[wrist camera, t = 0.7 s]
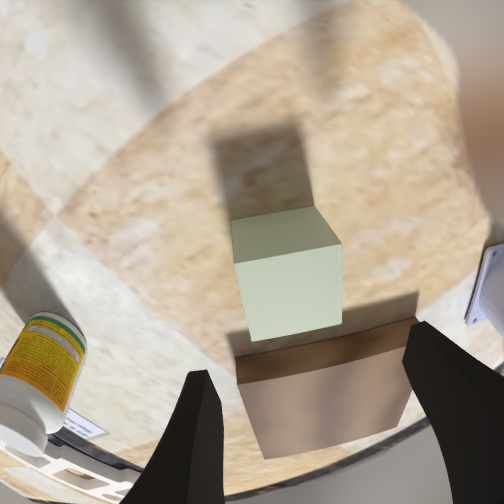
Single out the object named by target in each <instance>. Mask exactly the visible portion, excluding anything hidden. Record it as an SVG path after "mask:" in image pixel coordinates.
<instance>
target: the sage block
mask: <svg viewBox="0 0 504 504" xmlns="http://www.w3.org/2000/svg"><path fill="white" fill-rule="evenodd" d="M231 228H232V244H233V260H234V267H235V272H236V276H237V280H238V285H239V289H240V293H241V298H242V302H243V306H244V311H245V315H246V319H247V324H248V328H249V332H250V336H251V341H252V342H253V341H259V340H265V339H270V338H276V337H281V336H286V335H291V334H296V333H301V332H306V331H311V330H316V329H320V328H325V327H329V326H334V325H338V324H342V243H341V241H340V240H339V239H338V237H337V236H336V234H335V233H334V232H333V230H332V229H331V228H330V226H329V225H328V223H327V222H326V221H325V219H324V218H323V217H322V215H321V214H320V212H319V211H318V210H317V208H316V207H315V206H310V207H304V208H298V209H292V210H287V211H281V212H275V213H269V214H264V215H258V216H253V217H247V218H242V219H236V220H231Z"/></svg>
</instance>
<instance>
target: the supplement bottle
mask: <svg viewBox="0 0 504 504" xmlns="http://www.w3.org/2000/svg"><path fill="white" fill-rule="evenodd" d="M87 351H88V350H87V344H86V342H85V339H84V338H83V336H82V335H81V333H80V332H79V331H78V329H77V328H76V327H75V326H74V325H73V324H72V323H71V322H69V321H68V320H67V319H65V318H63V317H61V316H59V315H56V314H53V313H49V312H41V313H37V314H35V315H33V316H32V317H31V318H30V319H29V321H28V322H27V323H26V325H25V327H24V328H23V330H22V332H21V333H20V335H19V337H18V338H17V340H16V342H15V343H14V345H13V347H12V348H11V350H10V352H9V354H8V355H7V357H6V359H5V361H4V363H3V364H2V366H1V368H0V439H1V440H2V441H3V442H5V443H6V444H8V445H9V446H11V447H13V448H14V449H16V450H18V451H20V452H22V453H25V454H27V455H31V456H34V457H41V456H43V454H44V451H45V447H46V445H47V442H48V440H47V434H51V433H55V432H57V431H59V430H60V429H61V427H62V426H63V424H64V421H65V418H66V415H67V411H68V408H69V405H70V402H71V399H72V396H73V393H74V390H75V387H76V384H77V381H78V379H79V376H80V374H81V371H82V368H83V366H84V363H85V360H86V357H87Z"/></svg>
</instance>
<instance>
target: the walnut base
mask: <svg viewBox="0 0 504 504" xmlns="http://www.w3.org/2000/svg"><path fill="white" fill-rule="evenodd" d="M416 323H419V321H418V319H417V318H416V317H412V318H409V319H406V320H402V321H399V322H395V323H392V324H388V325H385V326H381V327H377V328H374V329H370V330H366V331H362V332H358V333H354V334H350V335H346V336H342V337H338V338H334V339H329V340H325V341H321V342H316V343H311V344H307V345H302V346H297V347H292V348H287V349H282V350H276V351H271V352H265V353H260V354H254V355H248V356H242V357H235V360H236V375H237V386H238V389H239V391H240V394H241V397H242V400H243V403H244V406H245V408H246V411H247V414H248V417H249V419H250V422H251V425H252V428H253V430H254V433H255V436H256V438H257V441H258V444H259V446H260V449H261V452H262V454H263V457H264V459H271V458H278V457H284V456H289V455H295V454H300V453H305V452H310V451H314V450H319V449H323V448H327V447H331V446H335V445H339V444H343V443H347V442H351V441H354V440H358V439H361V438H364V437H368V436H371V435H374V434H377V433H380V432H383V431H386V430H389V429H392V428H395V427H397V425H398V423H399V420H400V418H401V416H402V414H403V411H404V409H405V406H406V404H407V402H408V399H409V397H410V394H411V392H412V387H411V385H410V382H409V380H408V377H407V375H406V372H405V369H404V366H403V364H402V359H403V356H404V352H405V348H406V344H407V340H408V336H409V332H410V328H411V325H413V324H416Z"/></svg>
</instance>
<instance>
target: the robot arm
mask: <svg viewBox="0 0 504 504" xmlns="http://www.w3.org/2000/svg"><path fill="white" fill-rule="evenodd" d="M485 319H488V320H489V321H490V322H491V324H492V325H493V326H494V327H495V328H496V330H497V331H498V332H499V333H500V335H501V336H502V337H503V338H504V243H502V244H499V245H495V246H492V247H489V248H487V249H486V251H485V253H484V257H483V261H482V266H481V270H480V274H479V277H478V281H477V285H476V288H475V292H474V295H473V299H472V302H471V305H470V308H469V311H468V314H467V317H466V320H465V324H466V325H467V326H471V325H473V324H475V323H478V322H480V321H483V320H485ZM402 364H403V366H404V369H405V372H406V375H407V377H408V380H409V382H410V385H411V387H412V389H413V391H414V393H415V395H416V396H417V398H418V400H419V402H420V404H421V406H422V408H423V410H424V412H425V414H426V416H427V418H428V420H429V422H430V424H431V426H432V427H433V430H434V432H435V434H436V437H437V440H438V442H439V445H440V448H441V451H442V455H443V458H444V462H445V465H446V469H447V473H448V477H449V482H450V487H451V492H452V499H453V504H504V376H502V375H500V374H499V373H497V372H495V371H494V370H492V369H491V368H489V367H488V366H486V365H485V364H483V363H481V362H480V361H479V360H477V359H476V358H474V357H473V356H471V355H470V354H469V353H467V352H466V351H465V350H463V349H462V348H461V347H459V346H458V345H457V344H455V343H454V342H453V341H451V340H450V339H449V338H447V337H446V336H445V335H443V334H442V333H441V332H439V331H438V330H437V329H436V328H434V327H433V326H432V325H430V324H429V323H427V322H426V321H423V322H419V323H416V324H413V325H411V328H410V332H409V336H408V340H407V344H406V348H405V352H404V356H403V359H402ZM223 449H224V425H223V415H222V405H221V400H220V398H219V396H218V394H217V392H216V389H215V387H214V385H213V382H212V380H211V378H210V375H209V373H208V371H207V370H199V371H191V372H189V373H188V374H187V377H186V380H185V383H184V386H183V388H182V391H181V394H180V396H179V399H178V401H177V404H176V407H175V409H174V411H173V414H172V416H171V418H170V420H169V423H168V425H167V427H166V429H165V432H164V433H163V435H162V437H161V439H160V441H159V443H158V445H157V447H156V449H155V451H154V453H153V455H152V456H151V458H150V460H149V462H148V463H147V465H146V467H145V468H144V470H143V471H142V473H141V475H140V476H139V477H138V479H137V480H136V482H135V483H134V485H133V486H132V487H131V489H130V490H129V492H128V493H127V494H126V495H125V497H124V498H123V499H122V500H121V502H120V503H119V504H225V500H224V491H223Z"/></svg>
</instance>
